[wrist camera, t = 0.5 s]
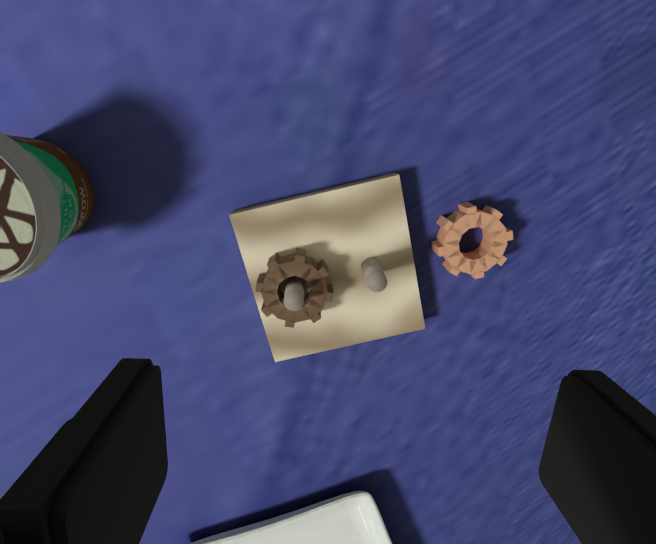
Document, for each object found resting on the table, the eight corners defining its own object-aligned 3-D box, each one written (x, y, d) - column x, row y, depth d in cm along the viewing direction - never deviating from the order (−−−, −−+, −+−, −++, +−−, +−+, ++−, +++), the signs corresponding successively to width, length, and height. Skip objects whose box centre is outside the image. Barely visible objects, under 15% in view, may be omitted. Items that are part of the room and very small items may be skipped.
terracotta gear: (426, 211, 42) (433, 216, 39) (498, 194, 41) (509, 198, 39) (436, 277, 44) (443, 286, 42) (505, 262, 44) (515, 269, 41)
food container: (112, 258, 42) (55, 296, 33) (47, 253, 42) (-30, 291, 32) (101, 127, 38) (32, 128, 29) (30, 120, 38) (-64, 119, 28)
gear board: (232, 210, 41) (219, 225, 35) (395, 172, 40) (410, 180, 34) (276, 352, 46) (271, 387, 40) (420, 320, 46) (437, 350, 39)
